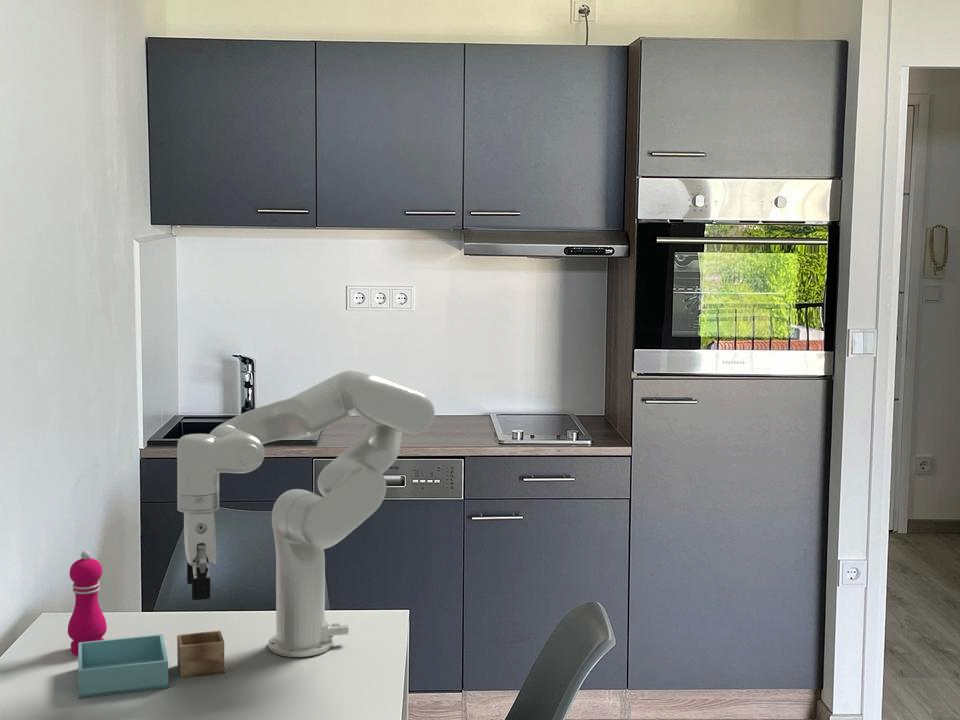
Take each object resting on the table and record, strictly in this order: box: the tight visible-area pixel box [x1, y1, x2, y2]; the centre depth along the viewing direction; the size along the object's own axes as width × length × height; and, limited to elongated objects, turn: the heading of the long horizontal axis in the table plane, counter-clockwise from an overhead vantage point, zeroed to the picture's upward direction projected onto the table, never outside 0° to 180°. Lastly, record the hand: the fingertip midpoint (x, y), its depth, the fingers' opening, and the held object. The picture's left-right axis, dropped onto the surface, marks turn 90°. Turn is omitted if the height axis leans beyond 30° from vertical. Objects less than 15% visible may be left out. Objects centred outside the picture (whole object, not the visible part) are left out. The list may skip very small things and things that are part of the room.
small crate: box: [176, 630, 226, 679], centre depth 210 cm, size 8×6×6 cm
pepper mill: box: [67, 550, 108, 657], centre depth 217 cm, size 7×7×20 cm
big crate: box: [77, 633, 169, 699], centre depth 205 cm, size 15×14×5 cm
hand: (198, 590), depth 208 cm, fingers open, 9 cm apart
